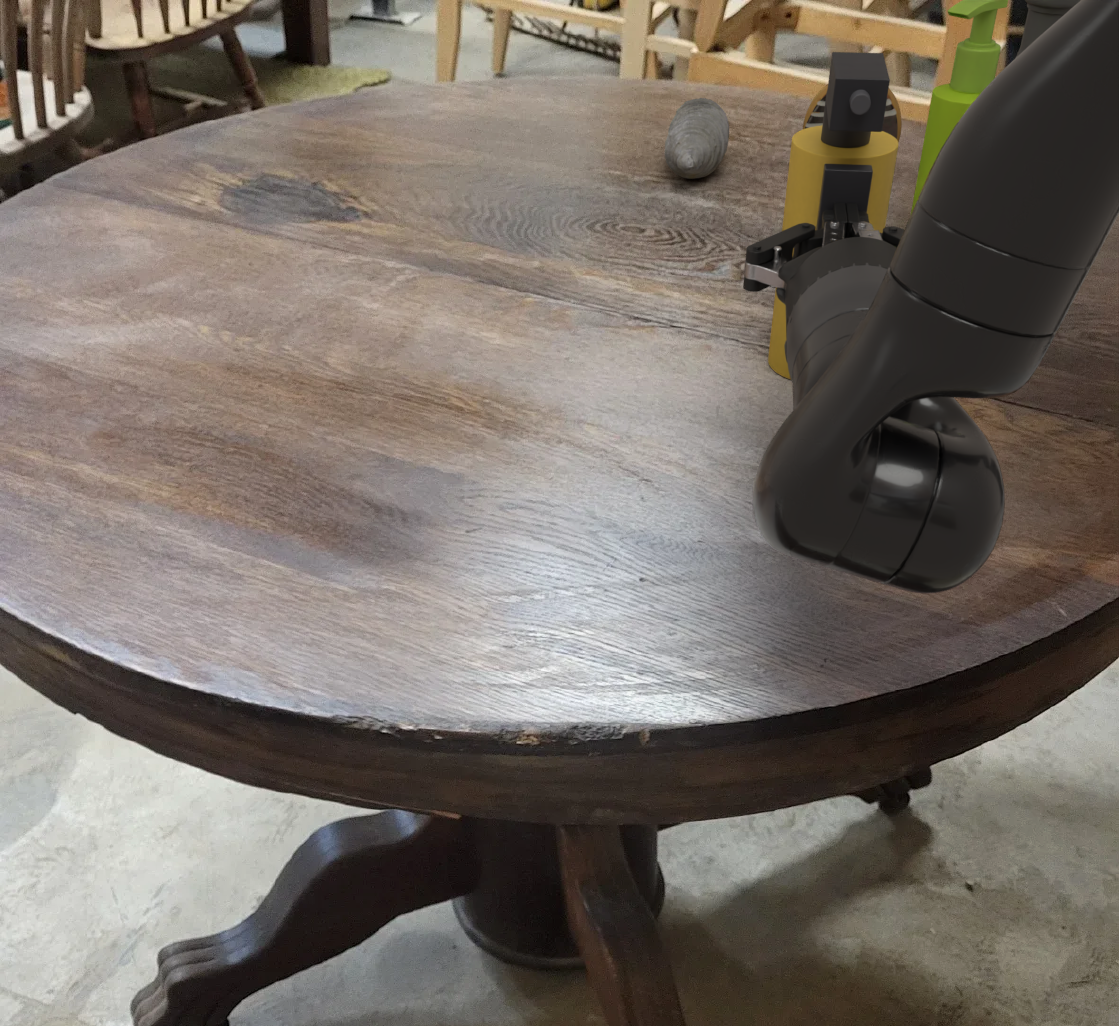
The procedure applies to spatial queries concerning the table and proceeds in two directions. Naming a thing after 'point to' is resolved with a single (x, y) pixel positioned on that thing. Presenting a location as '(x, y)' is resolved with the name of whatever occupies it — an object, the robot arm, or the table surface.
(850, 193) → the trigger
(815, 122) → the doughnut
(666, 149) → the seashell
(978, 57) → the soap dispenser
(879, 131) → the spray bottle
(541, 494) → the table surface
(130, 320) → the table surface
